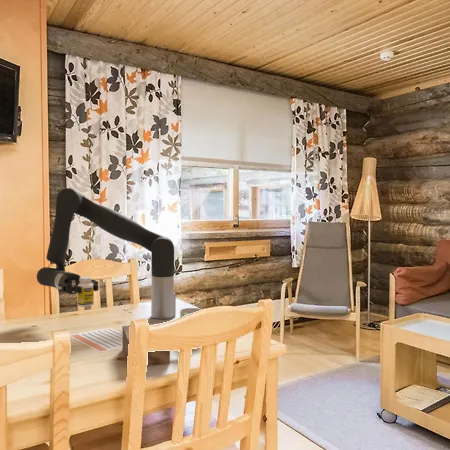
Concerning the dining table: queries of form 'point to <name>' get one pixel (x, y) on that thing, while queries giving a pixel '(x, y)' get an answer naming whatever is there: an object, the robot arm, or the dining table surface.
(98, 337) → the letter
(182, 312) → the cup
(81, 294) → the supplement bottle
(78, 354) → the dining table surface
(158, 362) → the walnut box
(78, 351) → the dining table surface
